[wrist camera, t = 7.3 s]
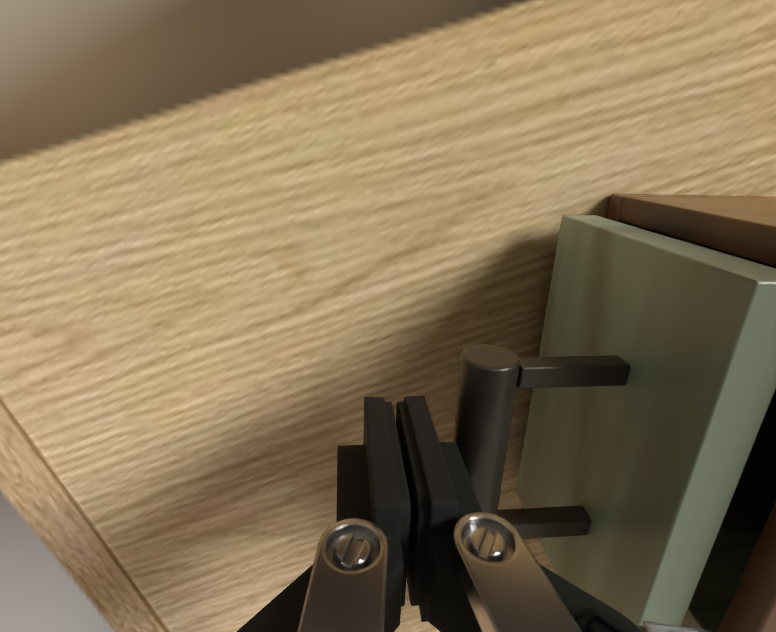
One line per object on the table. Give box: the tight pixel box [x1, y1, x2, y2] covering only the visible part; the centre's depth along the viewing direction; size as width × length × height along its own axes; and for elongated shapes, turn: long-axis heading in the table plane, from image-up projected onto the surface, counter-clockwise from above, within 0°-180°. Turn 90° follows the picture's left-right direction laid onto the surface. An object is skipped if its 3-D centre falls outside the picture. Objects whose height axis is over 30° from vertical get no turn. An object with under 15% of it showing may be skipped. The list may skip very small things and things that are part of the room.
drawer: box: [453, 215, 776, 632], centre depth 13 cm, size 18×11×7 cm, turn 88°
